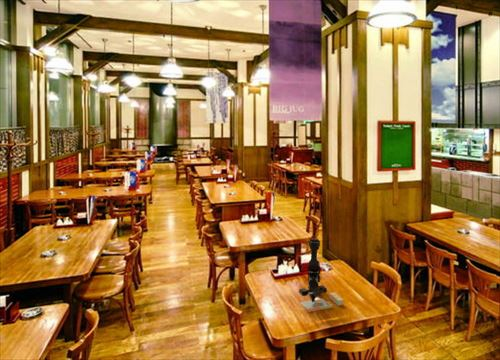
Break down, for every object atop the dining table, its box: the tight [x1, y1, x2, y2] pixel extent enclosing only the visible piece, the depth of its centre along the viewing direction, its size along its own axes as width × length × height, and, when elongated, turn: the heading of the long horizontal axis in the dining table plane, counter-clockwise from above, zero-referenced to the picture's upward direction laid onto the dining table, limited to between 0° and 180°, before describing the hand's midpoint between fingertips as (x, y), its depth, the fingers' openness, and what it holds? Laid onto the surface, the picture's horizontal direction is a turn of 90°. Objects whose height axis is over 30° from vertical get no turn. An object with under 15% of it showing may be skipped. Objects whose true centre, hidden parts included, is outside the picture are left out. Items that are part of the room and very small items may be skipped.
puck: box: [314, 297, 322, 304], centre depth 246 cm, size 5×5×2 cm
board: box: [299, 297, 333, 313], centre depth 243 cm, size 13×18×3 cm
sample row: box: [329, 291, 344, 307], centre depth 248 cm, size 11×5×5 cm, turn 18°
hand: (312, 302), depth 245 cm, fingers closed
